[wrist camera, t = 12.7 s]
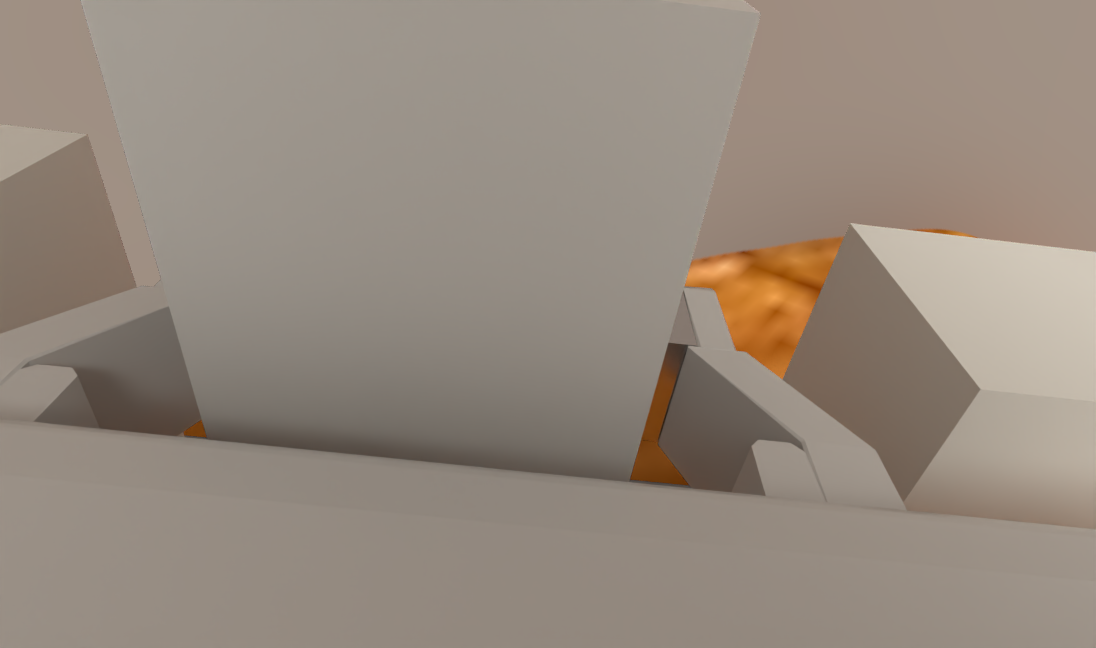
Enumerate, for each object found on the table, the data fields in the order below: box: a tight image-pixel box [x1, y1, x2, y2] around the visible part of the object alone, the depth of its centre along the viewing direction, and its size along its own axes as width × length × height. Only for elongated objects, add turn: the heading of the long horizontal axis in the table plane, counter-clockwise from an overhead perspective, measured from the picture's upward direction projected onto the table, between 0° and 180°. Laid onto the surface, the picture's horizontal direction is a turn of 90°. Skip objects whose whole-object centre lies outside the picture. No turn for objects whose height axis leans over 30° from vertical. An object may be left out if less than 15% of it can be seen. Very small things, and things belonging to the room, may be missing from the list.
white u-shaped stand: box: [0, 124, 1096, 529], centre depth 12 cm, size 25×10×12 cm, turn 88°
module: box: [80, 0, 761, 482], centre depth 10 cm, size 4×6×11 cm
